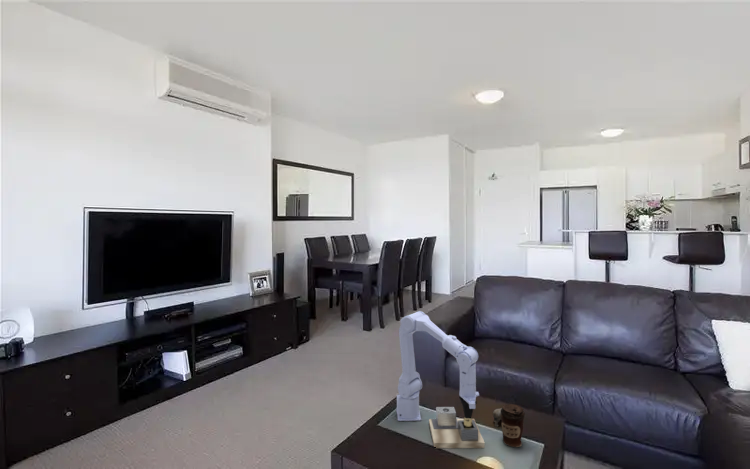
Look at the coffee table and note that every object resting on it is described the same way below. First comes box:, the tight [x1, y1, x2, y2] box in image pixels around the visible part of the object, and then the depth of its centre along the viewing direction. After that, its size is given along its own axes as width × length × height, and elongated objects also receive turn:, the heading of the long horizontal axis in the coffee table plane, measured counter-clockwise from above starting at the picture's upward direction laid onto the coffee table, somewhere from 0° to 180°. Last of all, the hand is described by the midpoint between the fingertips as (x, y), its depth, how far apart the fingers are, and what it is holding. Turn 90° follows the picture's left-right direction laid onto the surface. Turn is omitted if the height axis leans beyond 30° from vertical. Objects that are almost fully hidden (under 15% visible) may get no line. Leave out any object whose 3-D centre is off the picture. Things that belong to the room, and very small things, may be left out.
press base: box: [428, 418, 486, 449], centre depth 139 cm, size 18×15×6 cm
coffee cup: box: [500, 403, 526, 448], centre depth 133 cm, size 9×8×13 cm
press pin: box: [463, 417, 473, 428], centre depth 135 cm, size 3×3×4 cm
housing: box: [435, 406, 457, 427], centre depth 143 cm, size 7×4×6 cm, turn 88°
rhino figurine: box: [492, 407, 503, 428], centre depth 148 cm, size 4×14×6 cm, turn 118°
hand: (467, 417), depth 135 cm, fingers closed
